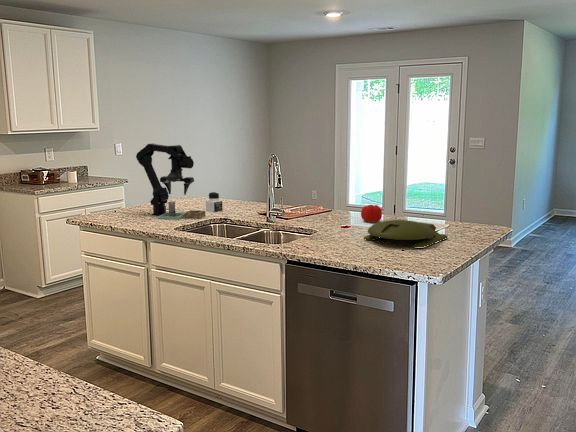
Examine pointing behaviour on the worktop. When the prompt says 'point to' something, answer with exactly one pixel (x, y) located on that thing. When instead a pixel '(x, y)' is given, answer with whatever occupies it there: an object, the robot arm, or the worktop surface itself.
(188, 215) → the socket block
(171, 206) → the stop pin
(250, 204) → the worktop surface
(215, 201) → the medicine bottle
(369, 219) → the tomato
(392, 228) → the olive green domed shape
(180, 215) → the tray
